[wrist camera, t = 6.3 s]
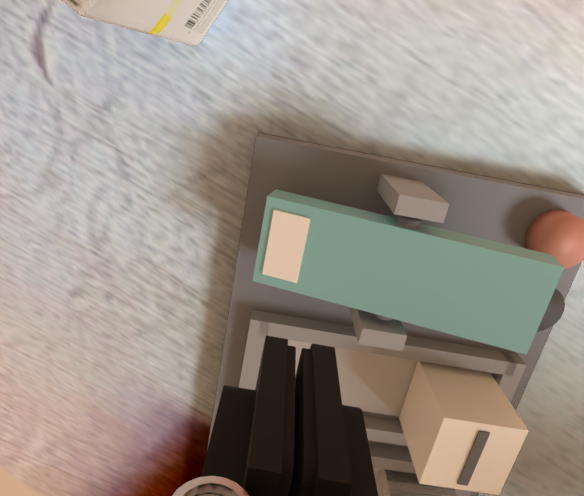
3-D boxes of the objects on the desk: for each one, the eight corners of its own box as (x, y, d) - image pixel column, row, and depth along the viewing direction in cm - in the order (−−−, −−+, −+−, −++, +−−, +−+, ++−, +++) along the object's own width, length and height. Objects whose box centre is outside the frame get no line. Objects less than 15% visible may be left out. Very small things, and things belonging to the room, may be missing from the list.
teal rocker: (554, 248, 19) (568, 261, 17) (515, 342, 20) (524, 361, 19) (277, 182, 20) (267, 189, 19) (260, 274, 22) (251, 287, 21)
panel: (588, 195, 23) (672, 230, 18) (441, 538, 32) (470, 628, 27) (258, 132, 22) (247, 149, 17) (199, 505, 31) (180, 591, 26)
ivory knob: (489, 370, 25) (530, 432, 21) (465, 428, 26) (499, 496, 22) (418, 359, 25) (444, 419, 20) (398, 417, 26) (419, 485, 22)
